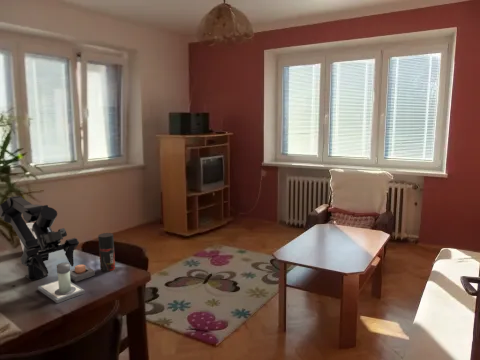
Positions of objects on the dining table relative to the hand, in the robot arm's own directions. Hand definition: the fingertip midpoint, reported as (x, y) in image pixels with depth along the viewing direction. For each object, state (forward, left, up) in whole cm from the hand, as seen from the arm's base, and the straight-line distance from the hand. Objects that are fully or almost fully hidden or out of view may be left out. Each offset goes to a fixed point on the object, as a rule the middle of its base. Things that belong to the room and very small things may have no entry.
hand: (60, 269), depth 137 cm
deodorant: (-7, +23, -9) cm, 25 cm away
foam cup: (-54, +10, -9) cm, 56 cm away
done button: (-9, +12, -7) cm, 16 cm away
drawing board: (-1, 0, -9) cm, 9 cm away
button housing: (-9, +12, -9) cm, 17 cm away
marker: (+2, 0, -7) cm, 8 cm away
